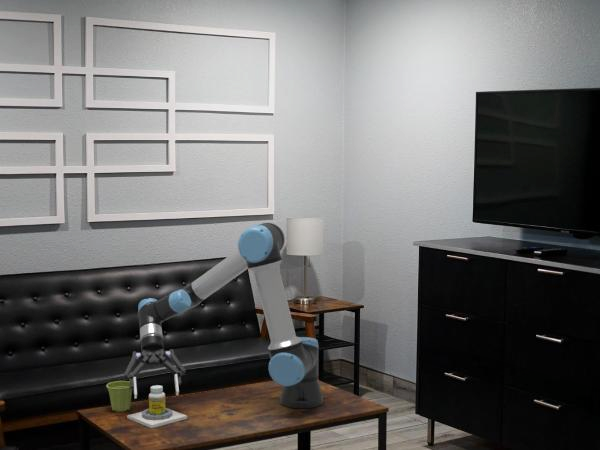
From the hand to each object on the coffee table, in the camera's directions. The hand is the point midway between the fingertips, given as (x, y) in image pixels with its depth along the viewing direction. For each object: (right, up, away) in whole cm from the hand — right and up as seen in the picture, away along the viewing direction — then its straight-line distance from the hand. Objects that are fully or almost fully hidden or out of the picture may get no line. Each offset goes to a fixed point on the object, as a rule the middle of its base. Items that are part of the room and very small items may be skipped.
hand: (156, 395), depth 290 cm
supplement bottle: (0, -7, +2) cm, 7 cm away
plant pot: (-14, -7, +12) cm, 20 cm away
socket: (0, -8, +2) cm, 8 cm away
